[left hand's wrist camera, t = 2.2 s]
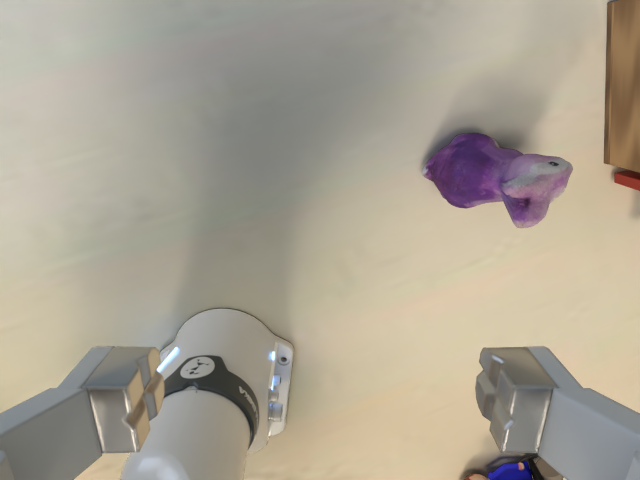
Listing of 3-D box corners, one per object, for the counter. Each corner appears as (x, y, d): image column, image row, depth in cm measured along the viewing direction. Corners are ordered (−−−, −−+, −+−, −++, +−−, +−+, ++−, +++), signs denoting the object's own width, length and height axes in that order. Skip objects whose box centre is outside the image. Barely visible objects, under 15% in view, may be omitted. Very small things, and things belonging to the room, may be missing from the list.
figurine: (532, 158, 50) (616, 187, 35) (466, 219, 52) (520, 270, 38) (479, 101, 47) (547, 108, 33) (413, 168, 50) (450, 201, 36)
